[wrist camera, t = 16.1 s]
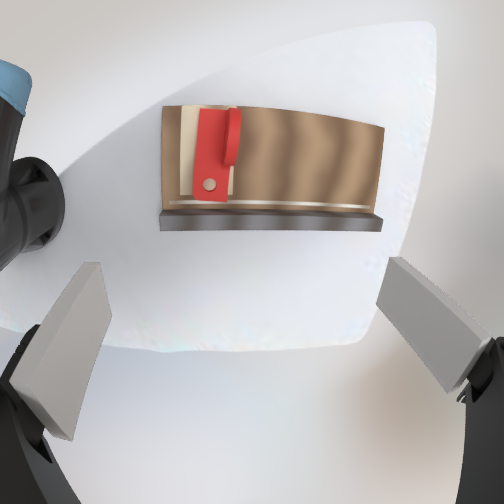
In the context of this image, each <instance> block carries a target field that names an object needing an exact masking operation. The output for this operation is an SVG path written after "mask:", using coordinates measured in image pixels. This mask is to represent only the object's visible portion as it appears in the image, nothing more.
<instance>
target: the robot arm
mask: <svg viewBox="0 0 504 504" xmlns="http://www.w3.org/2000/svg"><path fill="white" fill-rule="evenodd" d="M31 87H32V79H31V76H30V75H29V73H28V72H26V71H25V70H24V69H22V68H20V67H18V66H16V65H13V64H11V63H9V62H6V61H3V60H0V271H1V270H2V269H3V268H4V267H5V266H6V265H7V264H9V263H10V262H11V261H12V260H13V259H14V258H15V257H16V256H17V255H18V254H20V253H25V252H29V251H33V250H37V249H40V248H42V247H44V246H45V245H46V244H48V243H49V242H50V241H51V240H52V239H53V238H54V237H55V236H56V235H57V233H58V231H59V230H60V227H61V225H62V222H63V217H64V207H65V205H64V195H63V190H62V187H61V184H60V181H59V179H58V177H57V175H56V173H55V172H54V170H53V169H52V168H51V167H50V166H49V165H48V164H47V163H46V162H44V161H43V160H41V159H39V158H35V157H25V158H21V159H18V160H15V161H13V158H14V153H15V148H16V144H17V140H18V135H19V132H20V128H21V124H22V120H23V117H25V113H26V112H25V109H26V105H27V101H28V98H29V94H30V91H31ZM376 305H377V306H378V307H379V309H380V310H381V311H382V312H383V313H384V314H385V315H386V317H387V318H388V319H389V320H390V321H391V323H392V324H393V325H394V326H395V327H396V329H397V330H398V331H399V332H400V334H401V335H402V336H403V337H404V338H405V340H406V341H407V342H408V343H409V345H410V346H411V347H412V348H413V350H414V351H415V352H416V353H417V355H418V356H419V357H420V358H421V360H422V361H423V362H424V364H425V365H426V366H427V367H428V369H429V370H430V371H431V373H432V374H433V375H434V377H435V378H436V379H437V381H438V382H439V383H440V385H441V386H442V387H443V389H444V390H445V391H446V393H447V394H449V393H451V392H453V391H455V390H457V389H458V388H459V387H460V386H461V385H462V383H463V382H464V380H465V379H466V378H467V379H468V380H469V383H468V384H467V385H466V387H465V388H464V390H463V391H462V392H461V393H460V395H459V396H458V397H457V402H459V400H460V399H461V398H462V397H463V396H464V395H466V396H465V397H464V398H463V400H462V401H461V402H462V403H466V424H465V425H466V426H465V442H464V454H463V463H462V470H461V478H460V483H459V489H458V494H457V499H456V503H455V504H504V337H498V338H497V339H496V340H494V339H493V338H492V336H491V335H490V334H489V333H488V332H487V331H486V330H485V329H484V328H483V327H482V326H480V324H479V323H478V322H476V320H475V319H473V318H472V317H471V316H470V315H469V314H468V313H467V312H466V311H465V310H464V309H463V308H461V307H460V306H459V305H458V304H457V303H456V302H455V301H454V300H453V299H451V298H450V297H449V296H448V295H447V294H446V293H445V292H443V291H442V290H441V289H440V288H439V287H438V286H436V285H435V284H434V283H433V282H432V281H430V280H429V279H428V278H427V277H425V276H424V275H423V274H422V273H421V272H419V271H418V270H417V269H416V268H414V267H413V266H412V265H411V264H409V263H408V262H407V261H406V260H404V259H403V258H402V257H389V261H388V265H387V269H386V272H385V276H384V279H383V283H382V286H381V289H380V292H379V296H378V299H377V302H376ZM111 318H112V313H111V310H110V306H109V302H108V298H107V294H106V289H105V285H104V280H103V275H102V271H101V266H100V263H84V264H83V265H82V266H81V268H80V269H79V270H78V272H77V273H76V274H75V276H74V277H73V278H72V280H71V281H70V282H69V284H68V285H67V287H66V288H65V289H64V291H63V292H62V294H61V295H60V296H59V298H58V299H57V301H56V302H55V304H54V305H53V307H52V308H51V310H50V311H49V313H48V314H47V316H46V317H45V319H44V320H43V322H42V324H41V325H37V324H36V325H35V326H33V327H32V328H31V329H30V330H29V331H28V332H26V334H25V335H24V337H23V339H22V340H21V342H20V345H18V347H17V349H16V351H15V353H14V354H13V355H12V357H11V359H10V361H9V362H8V364H7V366H6V368H5V370H4V372H3V374H2V376H1V377H0V504H81V502H80V501H79V500H78V498H77V496H76V494H75V493H74V492H73V490H72V488H71V486H70V485H69V483H68V481H67V480H66V478H65V476H64V474H63V472H62V471H61V469H60V467H59V465H58V463H57V461H56V459H55V457H54V455H53V453H52V451H51V449H50V447H49V445H48V442H47V441H46V439H45V438H44V436H43V431H44V428H46V429H47V430H48V431H49V432H50V434H51V435H52V436H53V437H57V438H60V439H64V440H68V441H73V436H74V432H75V429H76V425H77V421H78V417H79V413H80V409H81V406H82V402H83V399H84V395H85V392H86V388H87V385H88V382H89V379H90V376H91V373H92V370H93V367H94V364H95V361H96V358H97V355H98V352H99V350H100V347H101V344H102V341H103V339H104V336H105V333H106V331H107V328H108V326H109V323H110V321H111Z"/></svg>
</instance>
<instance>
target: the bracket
mask: <svg viewBox="0 0 504 504" xmlns="http://www.w3.org/2000/svg"><path fill="white" fill-rule="evenodd" d="M240 127H241V110H240V108H229V109H228V110H220V109H206V108H200V112H199V121H198V131H197V142H196V153H195V166H194V180H193V196H194V198H195V199H197V200H199V201H214V202H227V196H228V185H229V175H230V167H231V166H234V165H235V162H236V157H237V152H238V145H239V138H240ZM209 178H210V179H214V180H215V181H216V187H215V188H214V189H213V190H206V189H205V188H204V187H203V182H204V181H205V180H206V179H209Z"/></svg>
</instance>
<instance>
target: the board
mask: <svg viewBox="0 0 504 504" xmlns="http://www.w3.org/2000/svg"><path fill="white" fill-rule="evenodd" d="M200 108H206V109H220V110H228V109H229V108H240V110H241V127H240V138H239V145H238V152H237V157H236V162H235V165H234V166H231V167H230V175H229V185H228V196H227V202H214V201H199V200H197V199H195V198H194V196H193V180H194V166H195V153H196V142H197V131H198V121H199V112H200ZM384 130H385V128H383V127H379V126H375V125H371V124H366V123H362V122H357V121H352V120H348V119H342V118H337V117H331V116H326V115H320V114H313V113H306V112H299V111H291V110H282V109H272V108H260V107H245V106H222V105H185V106H163V111H162V151H161V166H162V207H163V210H162V212H161V214H160V215H159V223H160V231H198V230H318V231H371V232H381V229H382V224H383V219H382V218H380V217H378V216H377V215H375V214H373V213H374V207H375V201H376V195H377V189H378V182H379V175H380V167H381V159H382V150H383V141H384ZM203 187H204V188H205V189H206V190H213V189H214V188H215V187H216V181H215V180H214V179H210V178H209V179H206V180H205V181H204V182H203Z"/></svg>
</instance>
